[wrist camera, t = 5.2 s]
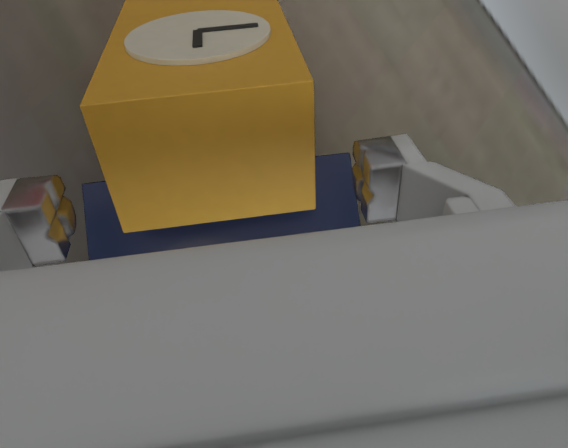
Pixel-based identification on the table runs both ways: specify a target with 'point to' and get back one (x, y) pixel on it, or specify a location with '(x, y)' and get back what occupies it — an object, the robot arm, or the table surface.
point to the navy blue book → (326, 216)
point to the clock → (202, 114)
